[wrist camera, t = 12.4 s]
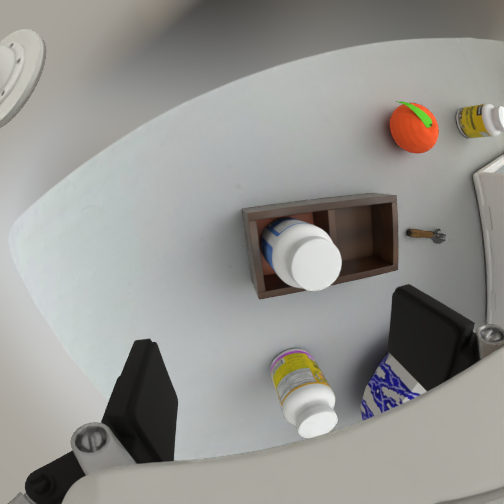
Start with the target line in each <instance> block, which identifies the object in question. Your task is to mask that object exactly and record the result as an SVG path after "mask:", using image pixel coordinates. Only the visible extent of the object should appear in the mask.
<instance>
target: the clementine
mask: <svg viewBox="0 0 504 504" xmlns="http://www.w3.org/2000/svg"><path fill="white" fill-rule="evenodd" d="M396 102H398V101H396ZM399 103H402V104H403V105H401V106H399V107H397V108H396V109H395V111H394V112H393V114H392V116H391V118H390V130H391V134H392V136H393V138H394V140H395V142H396V143H397V144H398V145H399V146H400V147H401V148H402V149H404V150H406V151H408V152H411V153H423V152H427V151H428V150H430V149H431V148H432V147H433V146H434V145H435V143H436V141H437V138H438V133H439V130H438V124H437V121H436V119H435V117H434V116H433V114H432V113H431V112H430V111H429V110H428V109H427V108H425V107H424V106H422V105H419V104H416V103H406V102H399Z"/></svg>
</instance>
